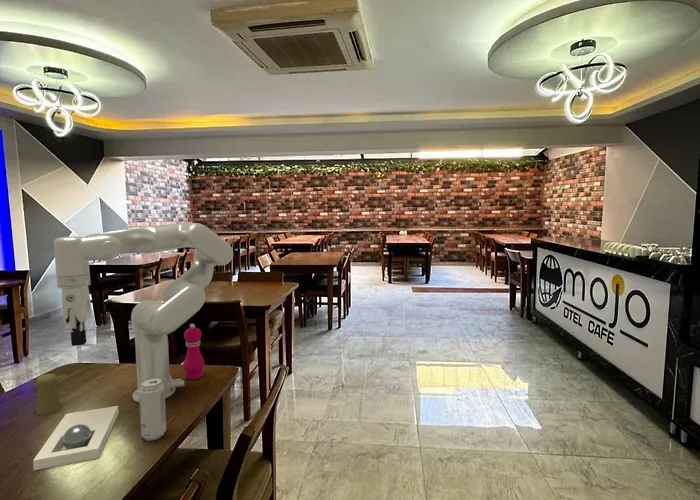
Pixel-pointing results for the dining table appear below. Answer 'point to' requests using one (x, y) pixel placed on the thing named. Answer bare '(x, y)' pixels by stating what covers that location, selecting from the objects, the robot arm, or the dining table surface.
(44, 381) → the cork
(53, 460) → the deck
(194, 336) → the pepper mill
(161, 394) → the energy drink can
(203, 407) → the dining table surface
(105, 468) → the dining table surface
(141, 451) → the dining table surface
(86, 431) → the ball
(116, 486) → the dining table surface
